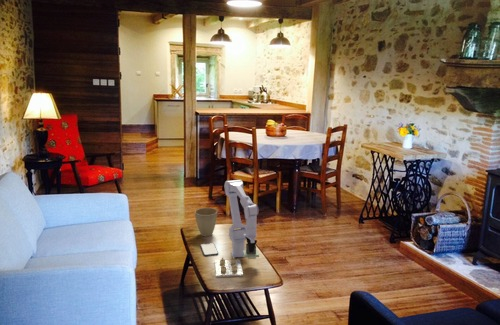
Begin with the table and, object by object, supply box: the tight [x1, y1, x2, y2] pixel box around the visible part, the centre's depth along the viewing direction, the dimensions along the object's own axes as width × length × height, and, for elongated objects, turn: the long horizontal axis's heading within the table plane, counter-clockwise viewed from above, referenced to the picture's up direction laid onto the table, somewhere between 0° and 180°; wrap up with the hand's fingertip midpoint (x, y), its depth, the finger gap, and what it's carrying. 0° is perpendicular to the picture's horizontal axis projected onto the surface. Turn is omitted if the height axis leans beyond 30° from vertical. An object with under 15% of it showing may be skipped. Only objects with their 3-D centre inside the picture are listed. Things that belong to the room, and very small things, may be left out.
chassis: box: [214, 257, 244, 278], centre depth 226 cm, size 18×14×4 cm
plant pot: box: [194, 207, 219, 237], centre depth 274 cm, size 15×15×16 cm
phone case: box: [199, 242, 219, 257], centre depth 250 cm, size 9×2×16 cm
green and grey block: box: [243, 243, 260, 260], centre depth 227 cm, size 11×8×6 cm
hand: (250, 250), depth 227 cm, fingers closed on green and grey block, 4 cm apart
